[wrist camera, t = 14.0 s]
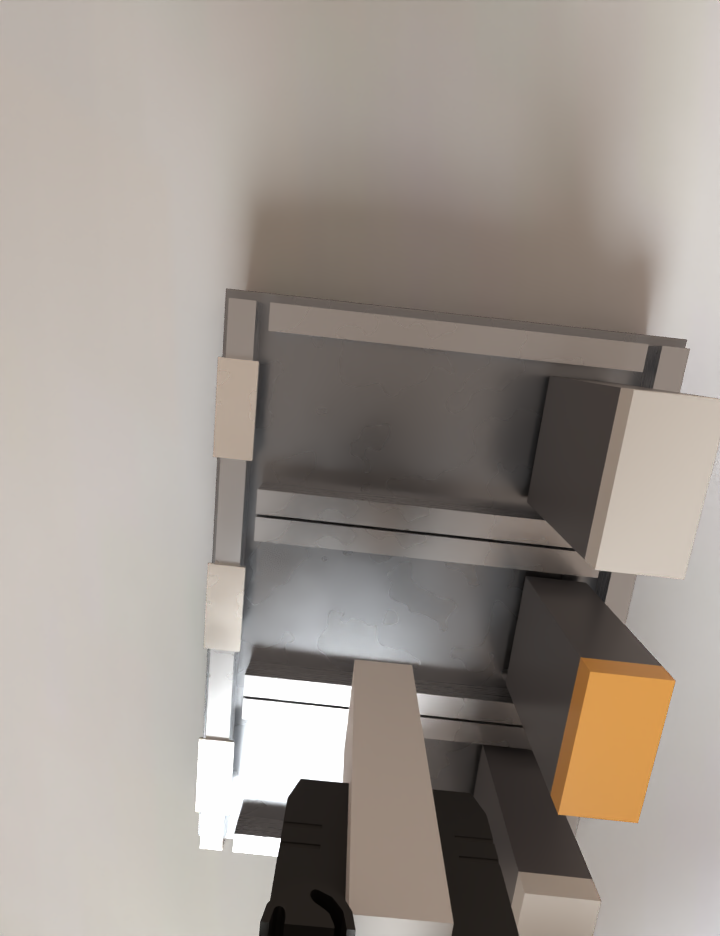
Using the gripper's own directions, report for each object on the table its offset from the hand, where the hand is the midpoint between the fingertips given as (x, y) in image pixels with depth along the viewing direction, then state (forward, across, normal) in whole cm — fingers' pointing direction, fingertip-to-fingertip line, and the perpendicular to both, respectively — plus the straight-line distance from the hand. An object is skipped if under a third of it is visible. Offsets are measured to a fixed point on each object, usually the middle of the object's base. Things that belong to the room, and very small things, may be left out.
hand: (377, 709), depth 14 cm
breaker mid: (+4, +6, 0) cm, 7 cm away
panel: (+7, +1, 0) cm, 7 cm away
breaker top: (+4, +5, +7) cm, 10 cm away
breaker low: (+4, +5, -6) cm, 9 cm away
